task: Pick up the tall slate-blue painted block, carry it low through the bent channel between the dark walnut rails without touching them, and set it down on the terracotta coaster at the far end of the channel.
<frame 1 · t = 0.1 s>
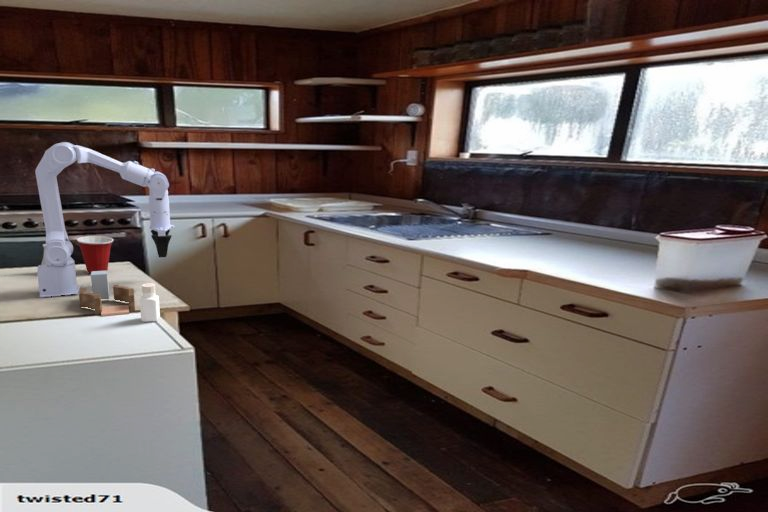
hand: (162, 254, 162), 10 cm above the counter, tool pointing down, fingers open, 7 cm apart
slate block: (101, 299, 148), on the counter
flask: (51, 274, 171), on the counter
pepper shaker: (150, 320, 135), on the counter
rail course: (108, 306, 143), on the counter
plastic cup: (98, 273, 175), on the counter
coaster: (115, 311, 139), on the counter
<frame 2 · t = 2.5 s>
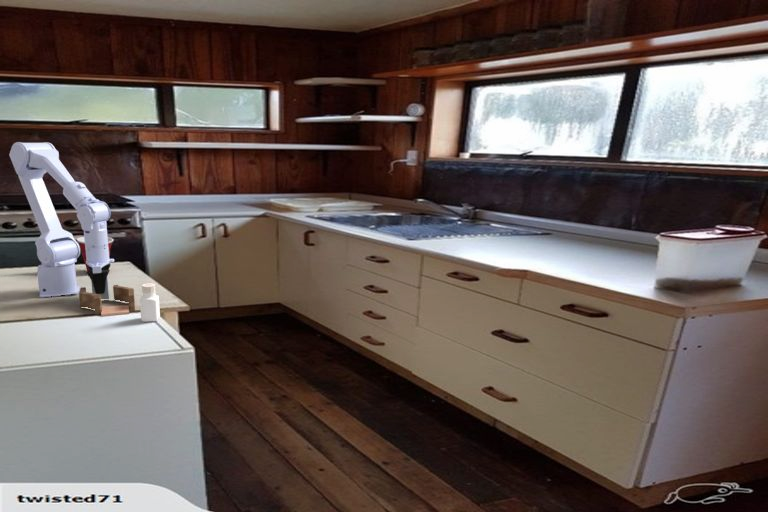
hand: (100, 291, 148), 2 cm above the counter, tool pointing down, fingers closed on slate block, 4 cm apart
slate block: (101, 299, 148), on the counter, touching gripper
everything else where it was.
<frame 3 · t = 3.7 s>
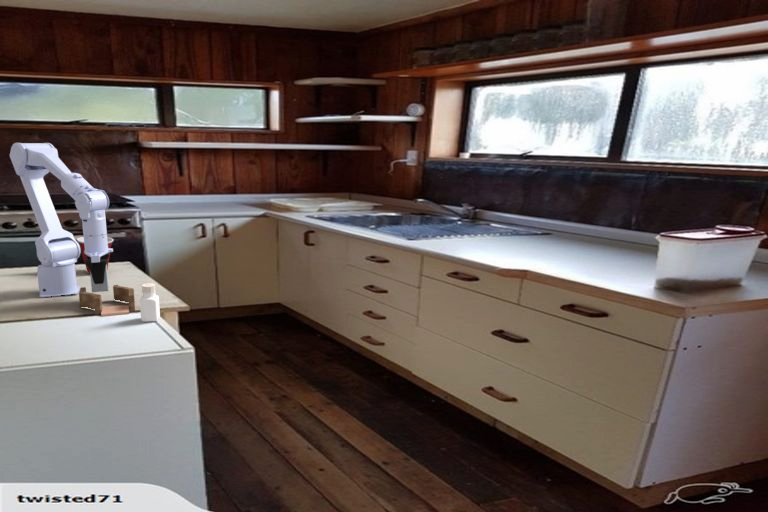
hand: (99, 281, 145), 6 cm above the counter, tool pointing down, fingers closed on slate block, 4 cm apart
slate block: (100, 289, 146), point 3 cm above the counter, touching gripper
everything else where it was.
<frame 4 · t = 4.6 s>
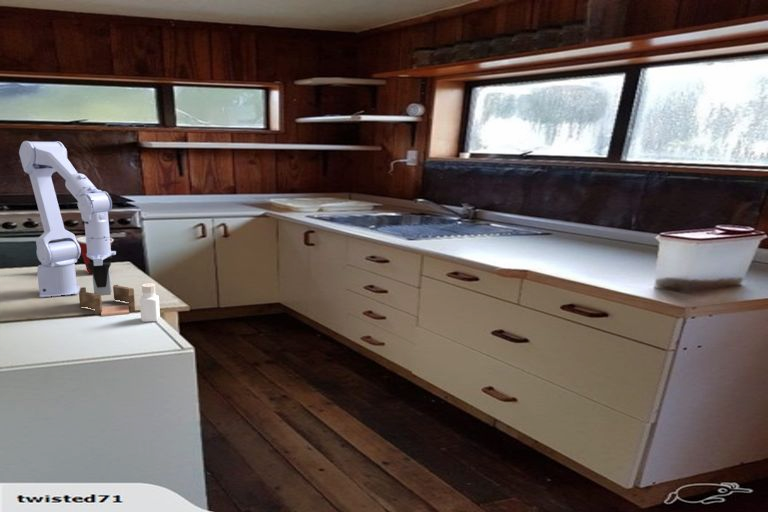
hand: (102, 284, 142), 6 cm above the counter, tool pointing down, fingers closed on slate block, 4 cm apart
slate block: (103, 293, 143), point 3 cm above the counter, touching gripper
everything else where it was.
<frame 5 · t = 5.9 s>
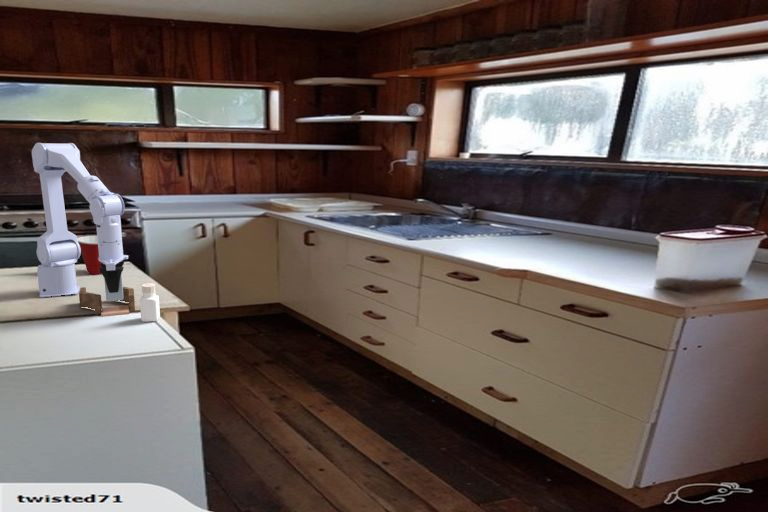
hand: (114, 289, 138), 6 cm above the counter, tool pointing down, fingers closed on slate block, 4 cm apart
slate block: (115, 298, 139), point 3 cm above the counter, touching gripper
everything else where it was.
when the fingers open (3 cm above the counter, at t = 7.0 s): slate block stays where it is, resting on coaster.
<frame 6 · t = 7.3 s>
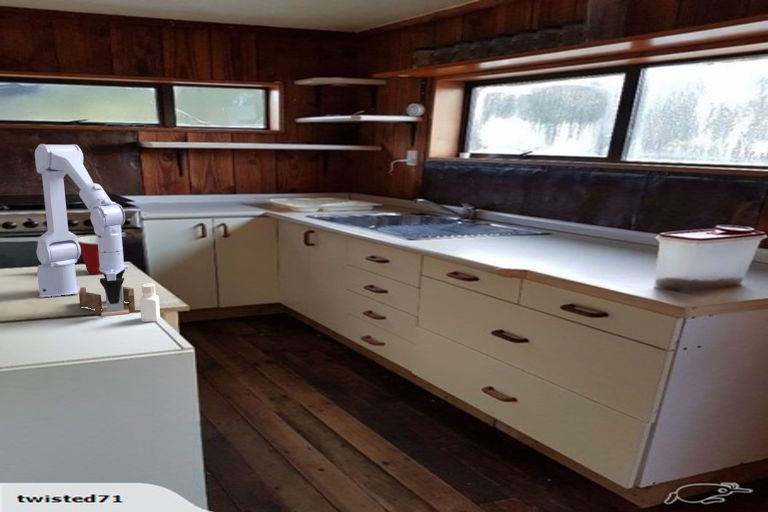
hand: (114, 299, 139), 3 cm above the counter, tool pointing down, fingers open, 7 cm apart
slate block: (115, 308, 140), point 1 cm above the counter, touching coaster
everything else where it was.
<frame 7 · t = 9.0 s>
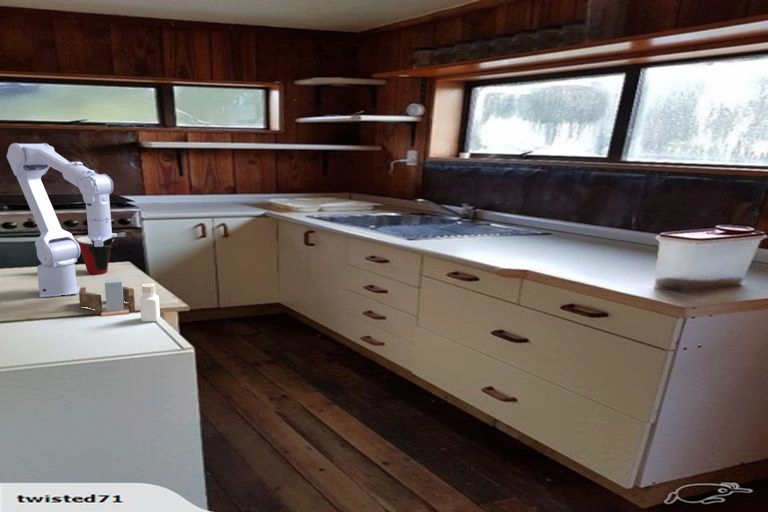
hand: (103, 266, 145), 10 cm above the counter, tool pointing down, fingers open, 7 cm apart
nothing on the counter moved.
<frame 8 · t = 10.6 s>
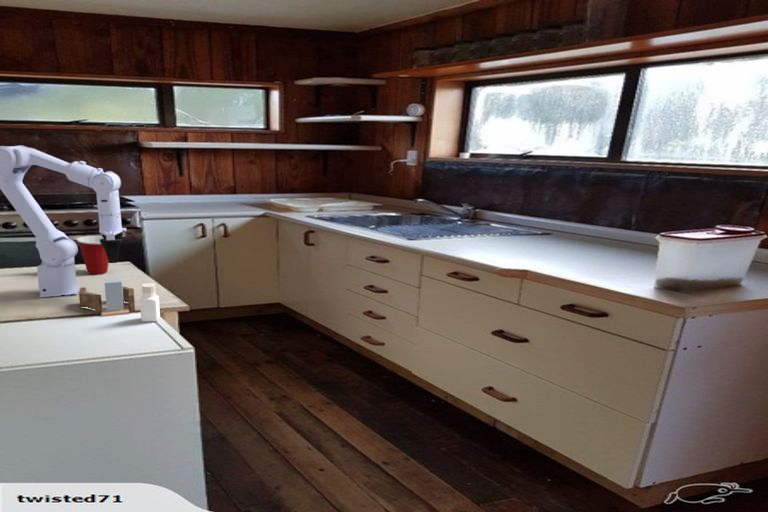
hand: (113, 259, 152), 10 cm above the counter, tool pointing down, fingers open, 7 cm apart
nothing on the counter moved.
at the end: slate block inside the target area on the coaster (0.5 cm from its centre), point 0.6 cm above the coaster's base; slate block tilted 0°; the gripper is holding nothing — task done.
